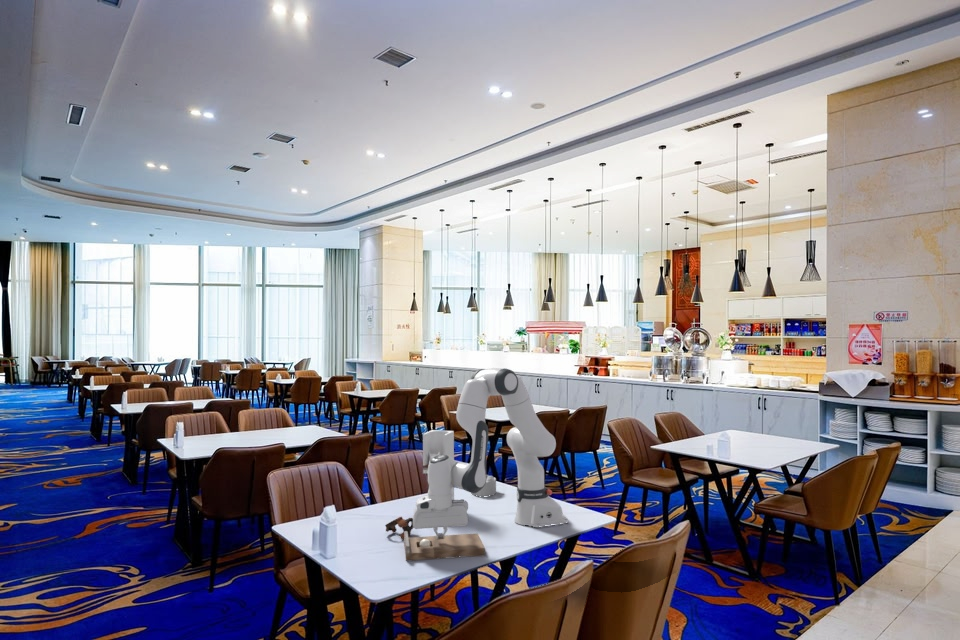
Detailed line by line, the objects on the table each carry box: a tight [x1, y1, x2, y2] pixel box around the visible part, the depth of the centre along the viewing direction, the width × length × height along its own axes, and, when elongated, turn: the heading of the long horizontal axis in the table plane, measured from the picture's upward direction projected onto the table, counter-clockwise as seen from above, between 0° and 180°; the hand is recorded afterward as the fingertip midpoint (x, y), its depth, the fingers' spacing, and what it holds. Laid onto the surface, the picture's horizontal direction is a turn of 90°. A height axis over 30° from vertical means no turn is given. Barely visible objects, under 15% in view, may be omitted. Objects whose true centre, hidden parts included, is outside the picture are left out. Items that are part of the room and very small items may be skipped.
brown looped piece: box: [385, 516, 415, 540], centre depth 228 cm, size 12×10×8 cm
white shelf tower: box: [422, 429, 455, 500], centre depth 259 cm, size 11×11×35 cm
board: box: [403, 531, 486, 562], centre depth 211 cm, size 28×16×5 cm, turn 100°
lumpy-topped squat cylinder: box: [470, 474, 497, 498], centre depth 287 cm, size 10×13×9 cm
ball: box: [420, 539, 431, 547], centre depth 210 cm, size 4×4×4 cm
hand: (440, 538), depth 211 cm, fingers closed
